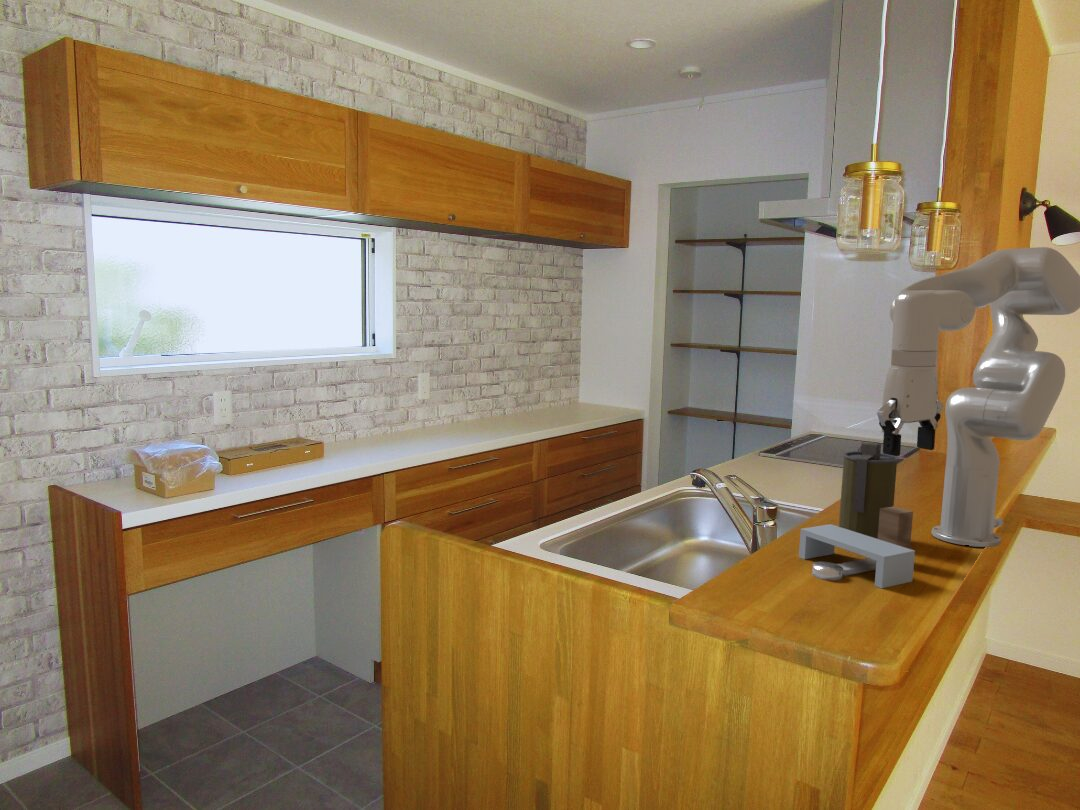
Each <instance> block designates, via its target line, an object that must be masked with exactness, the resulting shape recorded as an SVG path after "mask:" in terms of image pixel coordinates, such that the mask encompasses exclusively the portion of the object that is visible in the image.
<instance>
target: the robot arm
mask: <svg viewBox="0 0 1080 810" xmlns="http://www.w3.org/2000/svg"><path fill="white" fill-rule="evenodd" d="M987 306H989V307H990V315H991V316H990V317H991V323H992V335H991V337H990V339H989V342H988V343H987V345H986V347H985V348H984V351H983V352H982V354H981V356H980V357H979V360H978V361H977V364H976V366H975V367H974V370H973V373H972V382H973V385H974V386H975V387H970V386H969V387H962V388H959V389H955V391H952V392H951V394H950V395H949V396H948V397H947V399H946V403H945V405H944V403H943V402H941V401H940V400H938V398H939V396H938V395H939V394H938V393H939V389H938V387H939V385H938V384H939V383H938V373H937V372H938V371H937V368H938V366H937V365H938V353H939V352H938V350H939V349H938V348H939V337H940V334H939V333H940V332H954V331H959V330H962V329H964V328H966V327H968V326H969V325H970V324H971V323H972V321H973V319H974V317H975V314H976V309H981V308H985V307H987ZM1079 309H1080V274H1079V272H1078V271H1077V270H1076V269H1075V267H1074V266H1073V265H1072V264H1071V262H1070V261H1069V260H1068V259H1067V258H1066V257H1065V256H1064V255H1063V254H1062V253H1061V252H1059V251H1058V250H1056V249H1055V248H1052V247H1046V246H1045V247H1044V246H1042V247H1041V246H1039V247H1021V248H1004V249H999V250H996V251H994V252H991V253H989V254H988V255H986V256H984V257H982V258H981V259H978V260H977V261H976V262H973V263H972V264H970V265H969V266H966V267H964V268H961V269H956V270H953V271H950V272H949V271H948V272H946V273H943V274H939V275H935V276H931V277H928V278H925V279H921V280H919V281H916V282H914V283H912V284H909V285H908V286H907V287H904V288H903V289H902V290H900V291H899V292H898V293H897V294H895V296H894V298H893V299H892V301H891V304H890V306H889V317H890V319H891V322H892V337H891V338H892V339H891V342H892V343H891V354H890V355H891V356H890V357H891V358H890V359H891V360H890V361H891V362H890V367H888V370H887V373H886V377H885V383H884V388H883V397H882V406H881V407H880V409H878V410H877V412H876V415H877V418H878V421H879V422H878V424H879V426H880V428H881V433H883V444H882V454H887V455H892V456H895V457H899V456H900V455H901V445H902V434H900V431H901V430H902V429H903V426H904V424H910V423H911V424H912V423H919V425H920V426H917V435H916V436H917V438H916V439H917V440H916V448H918V449H923V450H928V451H933V450H935V443H936V442H935V441H936V429H937V428H938V427H939V424H938V422H939V420H940V419H941V414H942V412H943V409H944V406H945V409H944V410H945V412H944V414H945V415H944V416H945V423H946V432H947V441H946V442H947V446H946V457H945V458H946V459H945V469H944V470H945V471H944V482H943V490H942V491H943V493H942V506H941V516H940V525H935V526H933V527H931V535H932V536H933V537H934V538H936V539H938V540H941V541H943V542H948V543H950V544H951V543H952V544H956V545H960V546H965V545H969V546H968V547H974V548H976V547H977V548H992V547H997V546H999V545H1001V543H1002V539H1001V537H1000V535H998V534H996V533H994V529H995V528H998V527H1002V526H1003V524H1004V520H1003V519H1002V517H995V513H996V501H997V494H998V493H997V492H998V491H997V490H998V482H999V470H1000V453H999V451H998V449H997V447H996V445H995V444H994V442H993V440H992V439H991V437H992V438H999V439H1009V440H1016V441H1030V440H1034V439H1035V438H1036V437H1038V436H1039V435H1040V433H1041V432H1042V430H1043V428H1044V427H1045V426H1046V423H1047V421H1048V418H1049V417H1050V415H1051V413H1052V410H1053V408H1054V406H1055V405H1056V403H1057V401H1058V399H1059V397H1060V395H1061V392H1062V390H1063V387H1064V384H1065V380H1066V379H1065V378H1066V367H1065V363H1064V361H1063V360H1062V359H1063V358H1061V357H1060V356H1059V355H1058V354H1056V353H1053V352H1050V351H1044V350H1043V351H1040V350H1036V349H1037V347H1038V345H1039V339H1038V335H1037V333H1036V332H1035V330H1034V329H1033V327H1032V326H1031V324H1029V322H1028V321H1026V320H1025V318H1024V316H1023V315H1027V316H1029V315H1031V316H1032V315H1035V316H1036V315H1038V316H1041V315H1042V316H1065V315H1070V314H1073V313H1075V312H1077V311H1078V310H1079ZM894 423H895V425H894Z"/></svg>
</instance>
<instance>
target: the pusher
mask: <svg viewBox="0 0 1080 810" xmlns="http://www.w3.org/2000/svg"><path fill="white" fill-rule="evenodd" d="M913 519H914V511H913V510H909V509H906V508H902V507H898V506H895V505H894V506H893V507H886V508H880V514H879V527H878V539H879V540H882V541H886V542H889V543H892V544H895V545H898V546H902V547H905V548H908V549H911V542H912V529H913ZM876 561H877V560H875V559H872V558H869V557H866V558H862V559H857V560H851V561H847V562H842V563H836V564H837V565H839V566H841V567H842V568H843V576H845V577H847V576H851V575H855V574H861V573H865V572H870V571H874V570H875V571H876Z"/></svg>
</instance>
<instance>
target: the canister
mask: <svg viewBox="0 0 1080 810" xmlns="http://www.w3.org/2000/svg"><path fill="white" fill-rule="evenodd" d="M881 449H882V444H881V443H880V442H877V441H866V442H865V441H864V442H861V445H860V447H859V448H858V449H857V451H847V452H844V453H843V454H842V456H843V463H842V477H841V478H842V480H841V491H840V503H839V505H840V506H839V519H838V527H841V528H844V529H847V530H851V531H854V532H857V533H860V534H863V535H867V536H870V537H873V538H876V539H878V527H879V514H880V508H886V507H893V506H895V505H894V504H895V493H896V492H895V491H896V480H897V479H896V478H897V469H898V468H897V466H898V462H899V458H898V456H893V455H888V454H884V453H883V452H882V453H881Z"/></svg>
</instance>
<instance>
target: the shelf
mask: <svg viewBox="0 0 1080 810" xmlns="http://www.w3.org/2000/svg"><path fill="white" fill-rule="evenodd" d="M835 547H837V548H840V549H844V550H846V551H848V552H852V553H855V554H857V555H861V556H864V557H866V558H872V559H875V560H877V561H876V570H875V573H874V574H875V577H874V587H877V588H879V589H886V588H890V587H894V586H898V585H902V584H907V583H912V582H913V581H914V580H913V579H914V577H913V576H914V566H915V554H916V550H914V549H912V548H910V549H908V548H905V547H902V546H898V545H895V544H892V543H889V542H886V541H882V540H879V539H876V538H873V537H870V536H867V535H863V534H860V533H857V532H854V531H851V530H847V529H844V528H841V527H839V525H835V524H831V523H830V524H829V523H828V524H824V525H816V526H810V527H803V528H800V533H799V547H798V548H799V549H798V558H800V559H803V560H808V559H813V558H818V557H819V558H821V557H823V556H829V555H834V554H835Z"/></svg>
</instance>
